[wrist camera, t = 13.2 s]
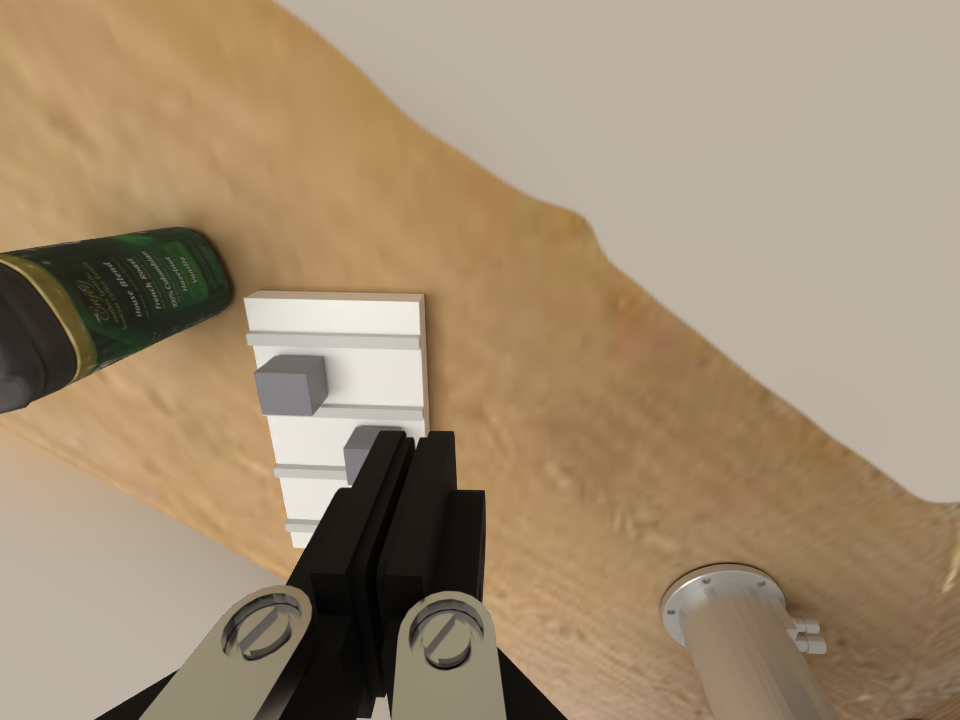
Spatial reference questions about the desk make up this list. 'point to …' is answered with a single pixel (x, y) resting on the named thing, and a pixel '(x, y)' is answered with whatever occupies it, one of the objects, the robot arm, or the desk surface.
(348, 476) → the tab
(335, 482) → the switch board
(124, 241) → the coffee jar
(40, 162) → the desk surface
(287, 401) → the tab
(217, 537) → the desk surface
